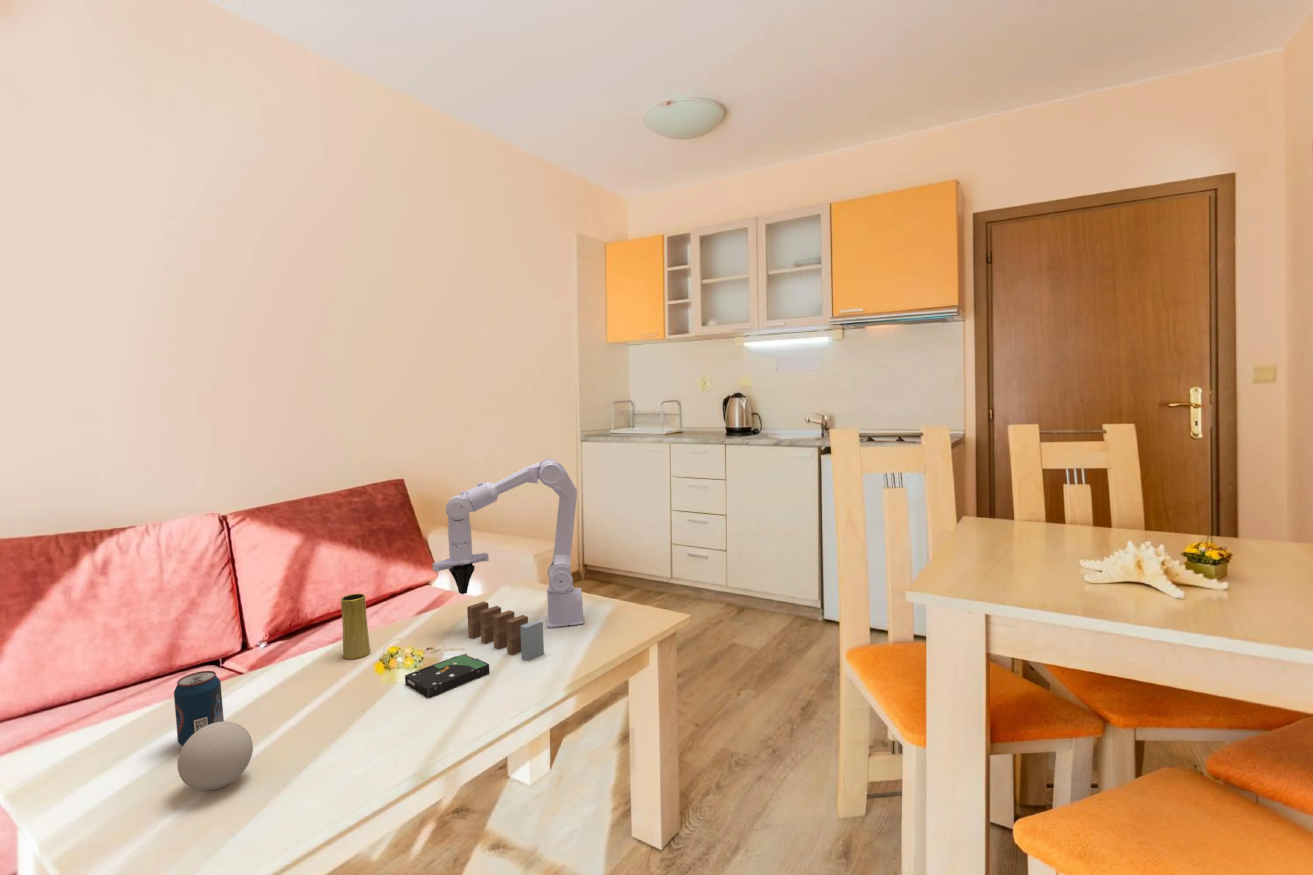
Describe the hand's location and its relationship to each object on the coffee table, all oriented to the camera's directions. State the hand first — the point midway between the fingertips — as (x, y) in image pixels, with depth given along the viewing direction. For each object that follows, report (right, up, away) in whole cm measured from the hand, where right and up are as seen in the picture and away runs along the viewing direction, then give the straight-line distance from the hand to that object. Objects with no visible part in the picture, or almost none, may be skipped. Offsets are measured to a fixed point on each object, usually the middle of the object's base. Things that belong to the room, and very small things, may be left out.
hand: (462, 592), depth 165 cm
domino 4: (+22, -11, -16) cm, 29 cm away
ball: (-20, -16, -63) cm, 68 cm away
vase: (-22, -12, -12) cm, 28 cm away
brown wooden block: (+13, -11, -9) cm, 19 cm away
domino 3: (+17, -11, -13) cm, 24 cm away
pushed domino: (+5, -10, -2) cm, 12 cm away
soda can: (-33, -15, -50) cm, 61 cm away
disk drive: (+5, -13, -27) cm, 30 cm away
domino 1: (+9, -11, -6) cm, 15 cm away
